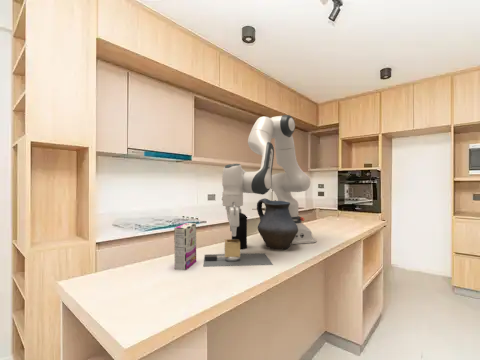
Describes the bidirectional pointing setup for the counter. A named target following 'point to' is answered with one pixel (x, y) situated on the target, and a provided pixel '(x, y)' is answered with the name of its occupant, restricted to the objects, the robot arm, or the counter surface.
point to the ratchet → (221, 258)
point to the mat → (241, 260)
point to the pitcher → (276, 224)
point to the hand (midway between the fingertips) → (233, 233)
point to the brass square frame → (232, 248)
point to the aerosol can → (242, 231)
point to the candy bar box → (185, 246)
